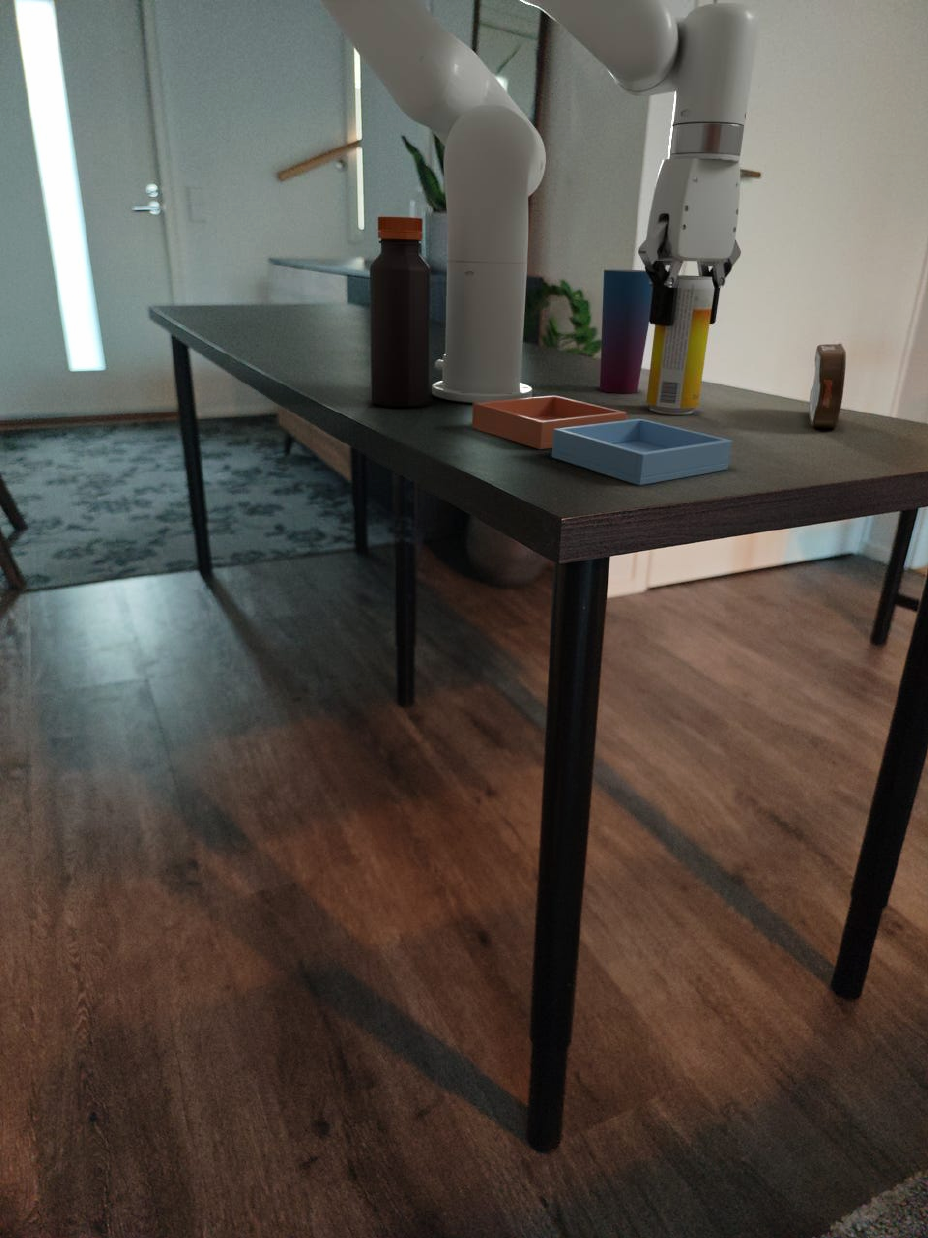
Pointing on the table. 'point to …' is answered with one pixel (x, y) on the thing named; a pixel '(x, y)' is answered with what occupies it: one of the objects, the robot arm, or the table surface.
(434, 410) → the table surface
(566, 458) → the blue tray
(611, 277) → the cup
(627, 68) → the robot arm
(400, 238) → the bottle
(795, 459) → the table surface
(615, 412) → the terracotta tray
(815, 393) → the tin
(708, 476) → the table surface
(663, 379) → the beer can
